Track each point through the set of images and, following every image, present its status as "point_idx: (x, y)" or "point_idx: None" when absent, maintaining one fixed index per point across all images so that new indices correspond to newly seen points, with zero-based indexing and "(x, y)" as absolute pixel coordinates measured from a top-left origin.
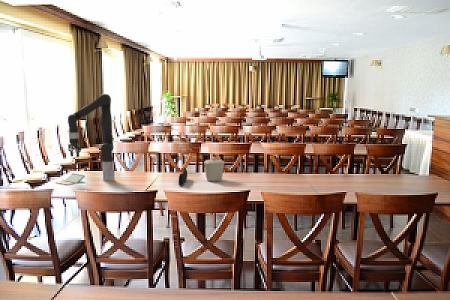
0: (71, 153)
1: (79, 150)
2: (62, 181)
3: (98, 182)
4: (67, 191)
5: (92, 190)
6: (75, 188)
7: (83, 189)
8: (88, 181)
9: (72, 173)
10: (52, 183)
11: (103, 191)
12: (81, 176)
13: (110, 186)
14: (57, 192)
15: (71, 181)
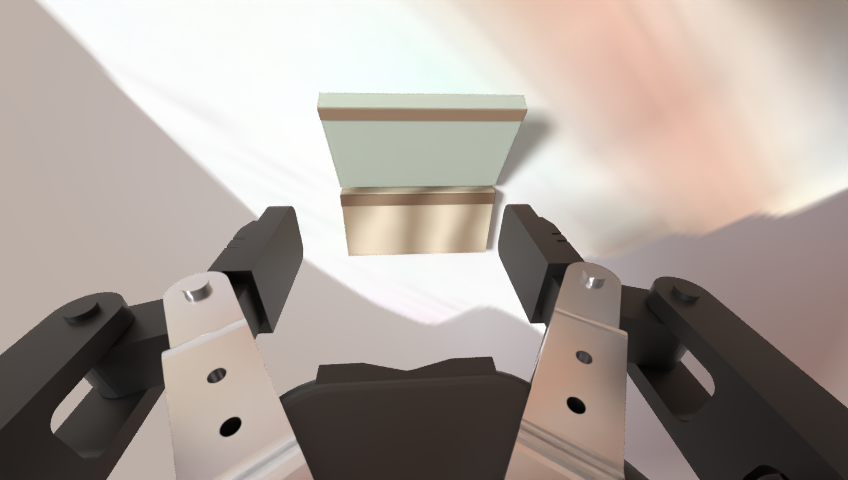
0: (280, 291)
1: (669, 329)
2: (366, 217)
3: (623, 3)
4: None
5: (709, 226)
6: None
7: (638, 239)
8: (497, 31)
9: (322, 113)
10: (316, 251)
11: (792, 206)
12: (499, 127)
13: (807, 70)
14: None
15: (432, 184)
